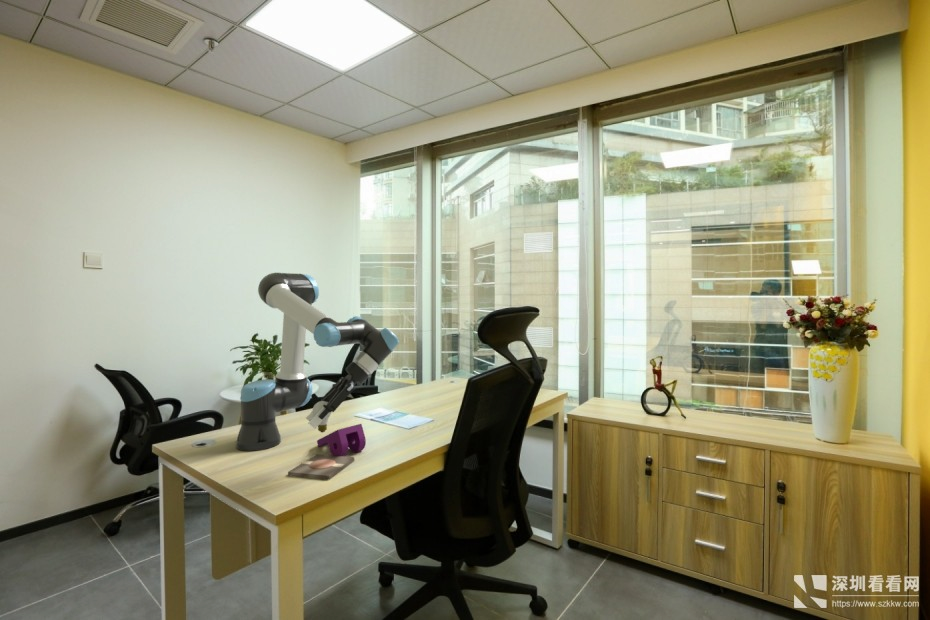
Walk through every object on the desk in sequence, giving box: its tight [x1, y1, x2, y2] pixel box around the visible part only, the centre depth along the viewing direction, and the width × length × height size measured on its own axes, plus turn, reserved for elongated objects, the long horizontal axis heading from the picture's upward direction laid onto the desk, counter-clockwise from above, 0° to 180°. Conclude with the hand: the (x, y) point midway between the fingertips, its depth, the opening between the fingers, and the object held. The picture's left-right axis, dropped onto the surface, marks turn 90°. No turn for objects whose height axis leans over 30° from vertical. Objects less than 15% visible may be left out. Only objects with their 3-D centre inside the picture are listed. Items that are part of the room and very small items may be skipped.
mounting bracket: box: [316, 423, 366, 457], centre depth 158 cm, size 10×9×19 cm
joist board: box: [287, 453, 355, 481], centre depth 141 cm, size 14×16×1 cm
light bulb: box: [312, 400, 332, 433], centre depth 141 cm, size 6×6×10 cm
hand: (310, 423), depth 139 cm, fingers closed on light bulb, 6 cm apart
